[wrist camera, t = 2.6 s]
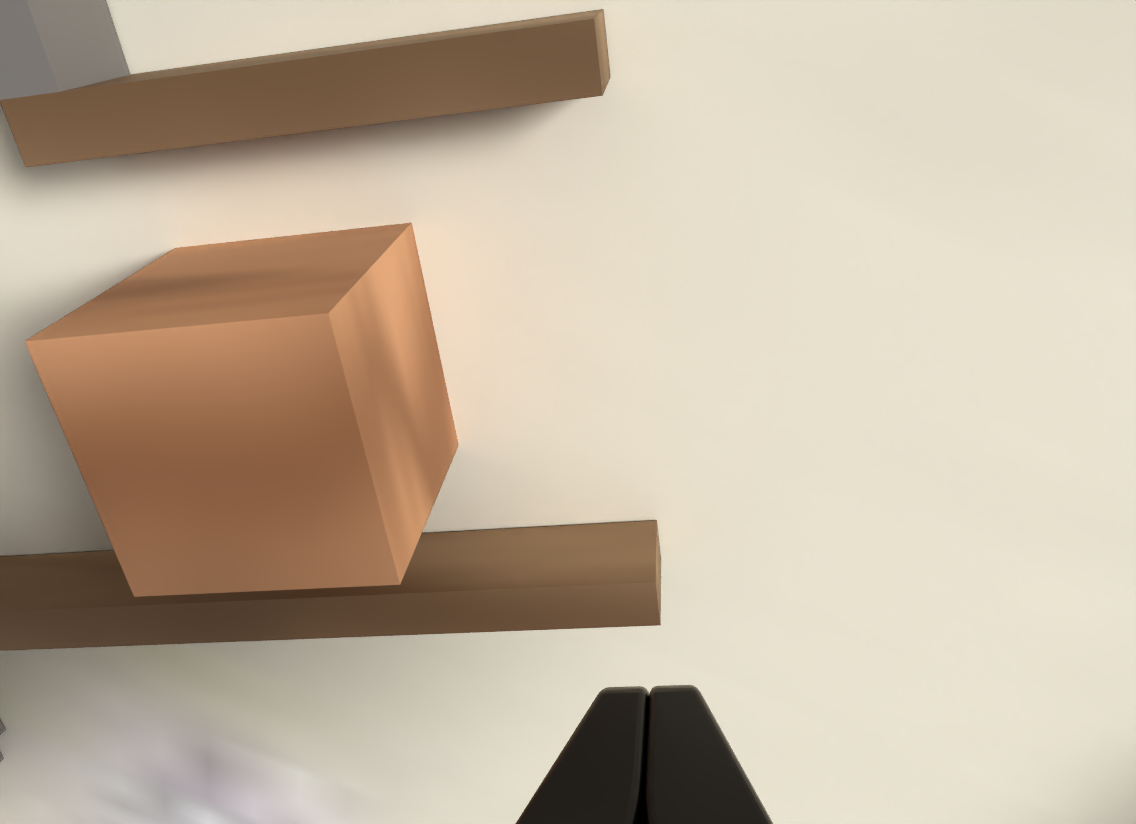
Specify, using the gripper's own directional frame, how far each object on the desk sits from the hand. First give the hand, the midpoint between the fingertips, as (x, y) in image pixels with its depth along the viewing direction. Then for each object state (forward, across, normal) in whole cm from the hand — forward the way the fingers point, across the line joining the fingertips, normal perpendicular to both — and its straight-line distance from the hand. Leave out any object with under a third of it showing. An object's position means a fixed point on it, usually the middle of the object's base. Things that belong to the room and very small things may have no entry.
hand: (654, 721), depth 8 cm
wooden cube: (+10, +6, 0) cm, 11 cm away
